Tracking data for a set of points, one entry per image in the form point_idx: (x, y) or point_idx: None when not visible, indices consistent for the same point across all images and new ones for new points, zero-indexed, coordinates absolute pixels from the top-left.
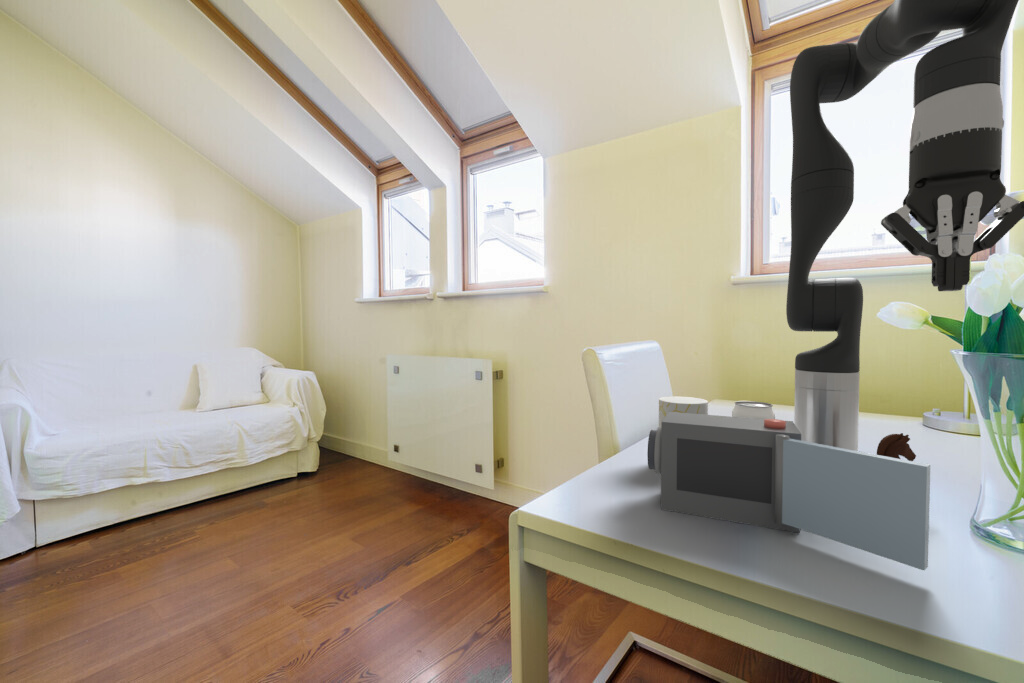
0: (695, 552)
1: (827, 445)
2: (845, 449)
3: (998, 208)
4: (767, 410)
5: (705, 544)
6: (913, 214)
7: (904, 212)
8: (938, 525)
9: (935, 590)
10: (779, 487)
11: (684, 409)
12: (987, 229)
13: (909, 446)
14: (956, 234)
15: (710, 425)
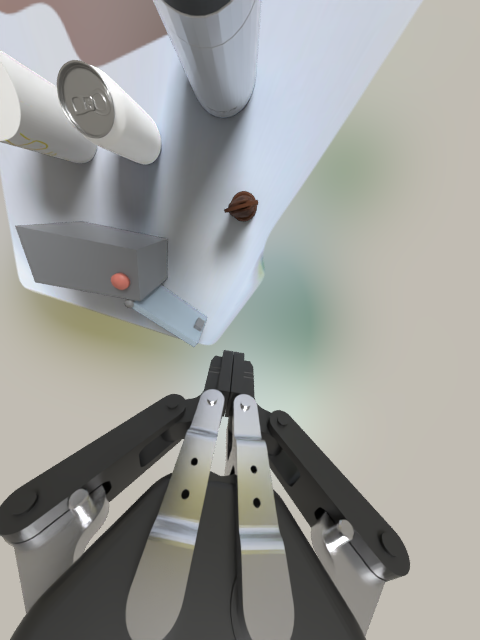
0: (120, 311)
1: (155, 316)
2: (164, 324)
3: (323, 559)
4: (112, 134)
5: (123, 302)
6: (100, 545)
7: (65, 558)
8: (250, 244)
9: (208, 319)
10: None
11: (8, 143)
12: (301, 473)
13: (251, 206)
14: (229, 462)
15: (75, 287)
